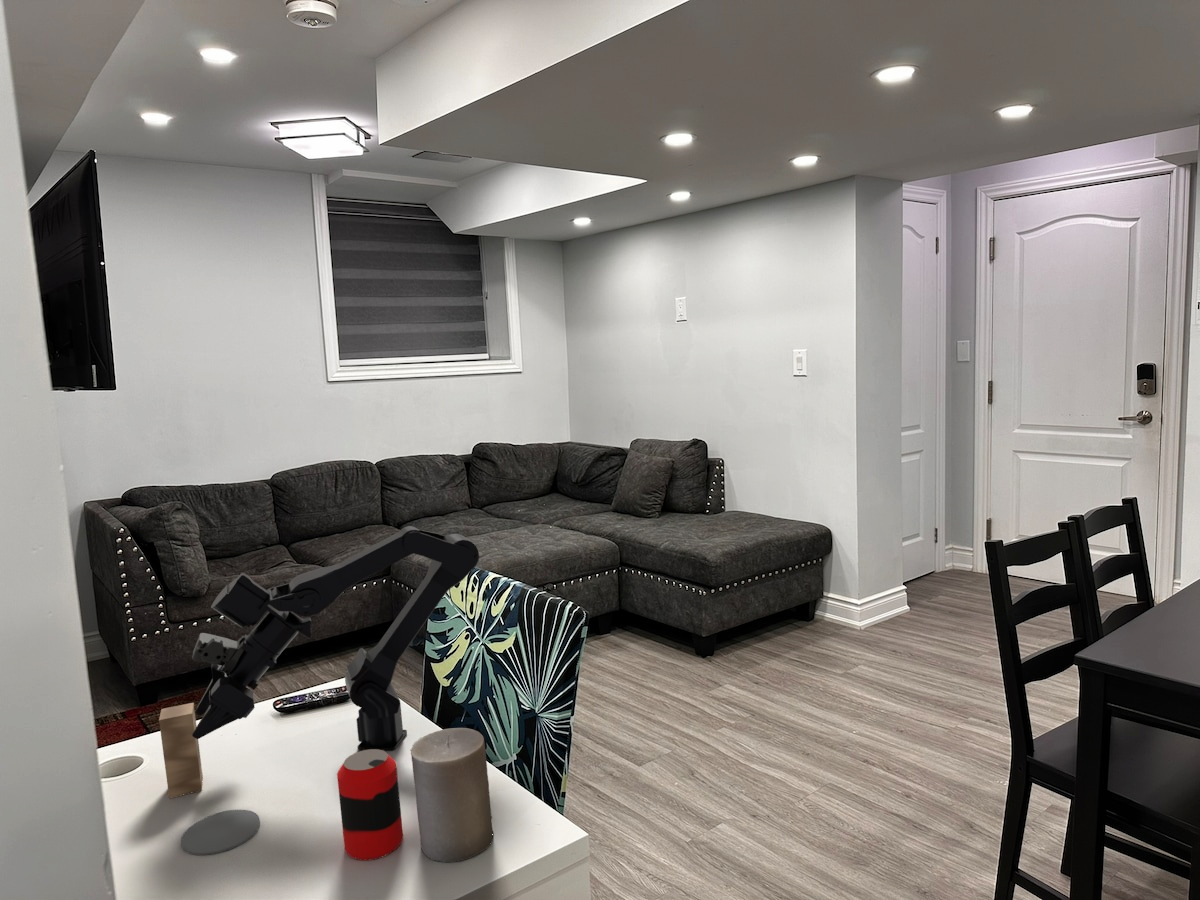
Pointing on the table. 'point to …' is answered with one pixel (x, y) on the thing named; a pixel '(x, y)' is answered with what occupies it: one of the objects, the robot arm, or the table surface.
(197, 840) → the charcoal coaster
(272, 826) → the table surface
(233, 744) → the table surface
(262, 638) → the robot arm
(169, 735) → the walnut block
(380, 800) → the soda can
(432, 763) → the pillar candle
